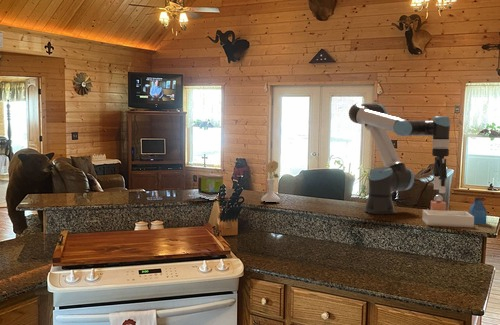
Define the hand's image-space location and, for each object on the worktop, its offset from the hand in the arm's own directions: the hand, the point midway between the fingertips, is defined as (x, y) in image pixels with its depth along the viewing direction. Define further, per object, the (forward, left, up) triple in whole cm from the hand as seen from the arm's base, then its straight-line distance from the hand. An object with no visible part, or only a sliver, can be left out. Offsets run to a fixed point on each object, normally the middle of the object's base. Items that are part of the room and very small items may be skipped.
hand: (439, 191), depth 232 cm
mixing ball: (0, 0, -4) cm, 4 cm away
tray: (+11, +2, -14) cm, 18 cm away
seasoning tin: (0, 0, -14) cm, 14 cm away
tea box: (-33, -126, -14) cm, 131 cm away
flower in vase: (-27, -87, -14) cm, 92 cm away
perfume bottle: (+5, +17, -14) cm, 22 cm away
